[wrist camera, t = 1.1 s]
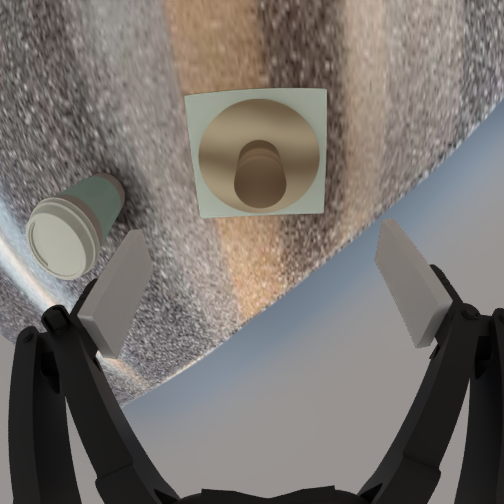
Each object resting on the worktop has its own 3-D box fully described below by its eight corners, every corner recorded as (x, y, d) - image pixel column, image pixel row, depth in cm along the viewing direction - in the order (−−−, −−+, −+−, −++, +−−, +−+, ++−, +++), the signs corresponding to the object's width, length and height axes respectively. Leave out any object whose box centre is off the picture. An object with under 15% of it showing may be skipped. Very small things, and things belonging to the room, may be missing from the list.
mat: (185, 95, 26) (184, 96, 25) (324, 88, 25) (326, 88, 25) (201, 215, 34) (200, 218, 33) (322, 210, 33) (323, 213, 32)
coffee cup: (91, 148, 29) (29, 189, 19) (147, 186, 32) (103, 242, 22) (69, 202, 32) (17, 253, 22) (118, 235, 35) (78, 298, 25)
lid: (195, 104, 26) (172, 115, 19) (316, 98, 25) (340, 107, 18) (208, 210, 32) (194, 253, 25) (315, 205, 32) (331, 247, 25)
